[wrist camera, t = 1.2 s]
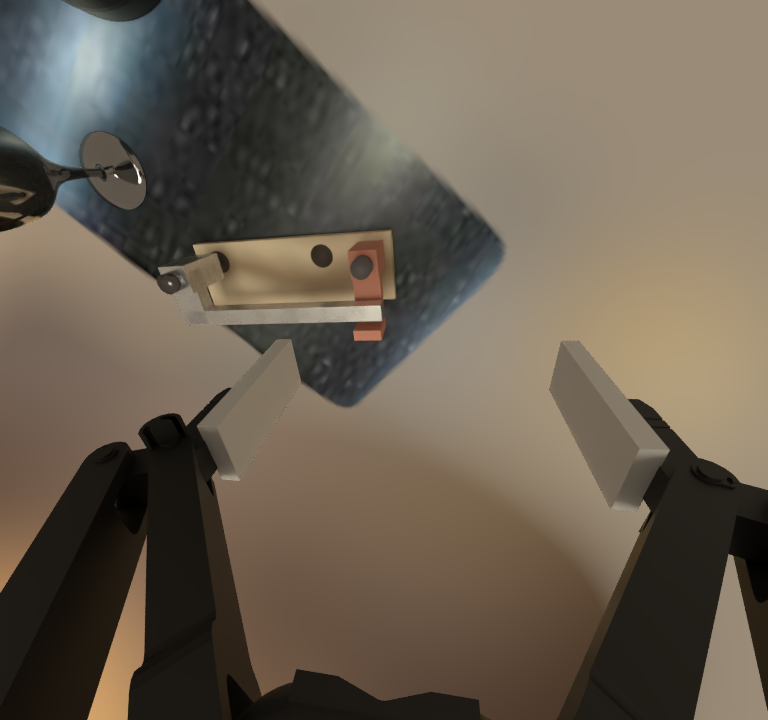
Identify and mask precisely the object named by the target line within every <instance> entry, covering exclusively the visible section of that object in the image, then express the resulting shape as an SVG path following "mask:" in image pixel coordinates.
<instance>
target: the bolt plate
mask: <svg viewBox="0 0 768 720" xmlns="http://www.w3.org/2000/svg"><path fill="white" fill-rule="evenodd" d="M378 240H383V242H384V254H385V269H384V271H383V272H382V274H381V278H382V289H383V299H396V281H395V266H394V252H393V237H392V229H388V230H374V231H360V232H346V233H332V234H318V235H304V236H290V237H276V238H262V239H248V240H234V241H220V242H206V243H198V244H195V245H193V247H194V250H195V253H196V255H197V254H212V253H217V256H218V258H219V259H221V260H222V261H223V266H221V268H222V271H223V274H224V277H225V278H224V279H222V280H220V281H218V282H216V283H214V284H212V285H210V286H208V288H209V291H210V294H211V296H212V299H213V302H214V304H215V305H240V304H268V303H296V302H324V301H352V300H355V295H354V288H353V281H352V280H351V275H350V267H349V260H348V253H347V251H348V250H349V249H350V248H352V247H353V246H354V245H355V244H356V243H357V242H363V241H378Z"/></svg>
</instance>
